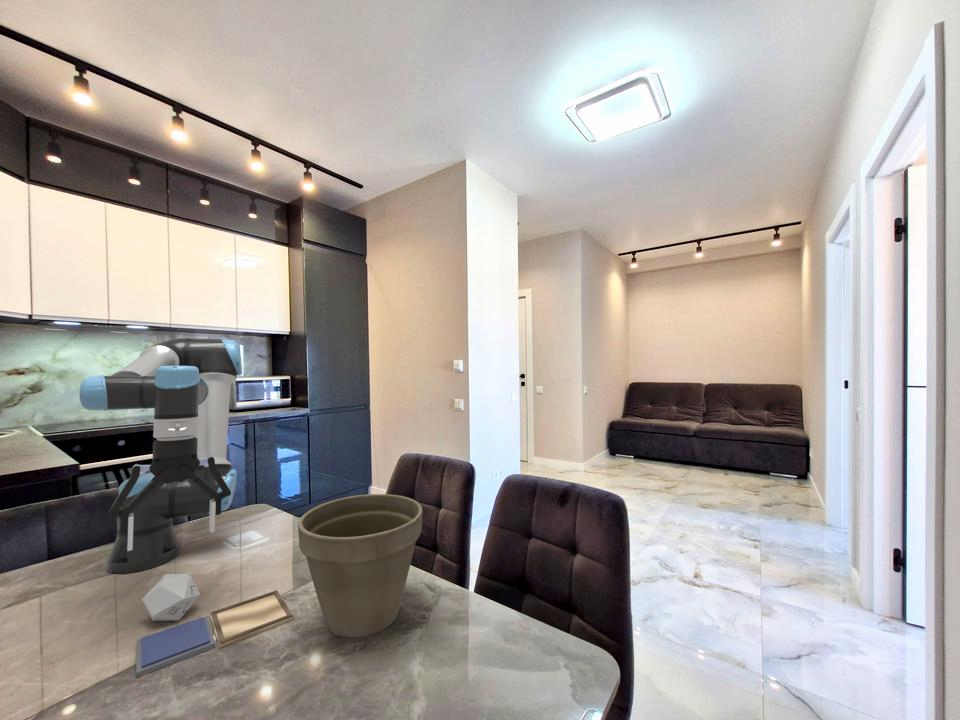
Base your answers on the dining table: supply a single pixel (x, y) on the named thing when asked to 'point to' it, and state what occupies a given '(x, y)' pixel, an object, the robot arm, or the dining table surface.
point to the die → (171, 597)
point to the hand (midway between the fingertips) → (173, 539)
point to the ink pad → (173, 645)
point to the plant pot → (360, 559)
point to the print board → (249, 618)
